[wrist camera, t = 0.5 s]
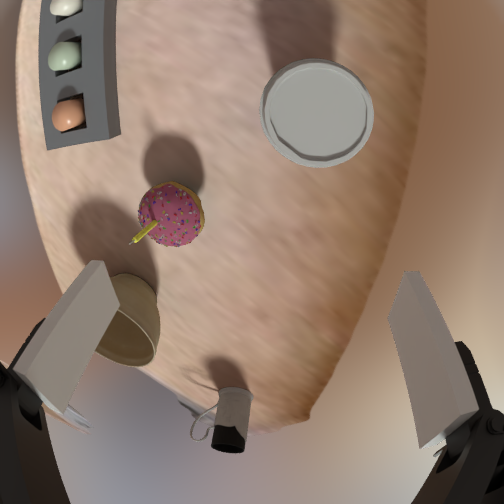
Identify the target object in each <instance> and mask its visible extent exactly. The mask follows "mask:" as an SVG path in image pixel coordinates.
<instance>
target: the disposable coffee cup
mask: <svg viewBox="0 0 504 504" xmlns="http://www.w3.org/2000/svg"><path fill="white" fill-rule="evenodd" d="M259 112H260V120H261V125H262V128H263V131H264V133H265V135H266V137H267V138H268V140H269V142H270V143H271V144H272V146H273V147H274V148H275V149H276V150H277V151H278V152H279V153H280V154H282V155H283V156H284V157H286V158H287V159H289V160H291V161H293V162H295V163H297V164H300V165H304V166H308V167H315V168H319V167H330V166H335V165H338V164H340V163H343V162H345V161H347V160H349V159H350V158H351V157H353V156H354V155H356V154H357V153H358V152H359V151H360V150H361V149H362V147H363V146H364V144H365V143H366V142H367V140H368V138H369V135H370V133H371V130H372V126H373V118H374V111H373V104H372V101H371V97H370V95H369V93H368V90H367V89H366V87H365V85H364V84H363V83H362V81H361V80H360V79H359V78H358V77H357V76H356V75H355V74H354V73H353V72H352V71H351V70H349V69H348V68H346V67H344V66H343V65H340V64H338V63H336V62H333V61H330V60H326V59H317V58H310V59H302V60H299V61H295V62H292V63H290V64H288V65H287V66H285V67H283V68H282V69H280V70H279V71H278V72H277V73H276V74H275V75H274V76H273V77H272V78H271V79H270V80H269V82H268V83H267V85H266V86H265V88H264V91H263V94H262V97H261V101H260V109H259Z"/></svg>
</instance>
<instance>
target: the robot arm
mask: <svg viewBox="0 0 504 504" xmlns="http://www.w3.org/2000/svg"><path fill="white" fill-rule="evenodd" d="M119 306H120V303H119V301H118V298H117V296H116V293H115V291H114V288H113V286H112V283H111V280H110V278H109V275H108V272H107V269H106V266H105V264H104V261H100V260H91V261H90V262H89V263H88V264H87V265H86V267H85V268H84V269H83V270H82V272H81V273H80V274H79V275H78V277H77V278H76V279H75V280H74V282H73V283H72V284H71V285H70V287H69V288H68V289H67V290H66V292H65V293H64V294H63V296H62V297H61V298H60V300H59V301H58V302H57V304H56V305H55V306H54V308H53V309H52V310H51V312H50V313H49V315H48V316H47V317H46V318H44V319H43V320H42V321H40V322H39V323H38V324H37V325H36V326H35V327H34V329H33V330H32V332H31V333H30V336H28V338H27V339H26V342H25V343H24V344H23V345H22V347H21V348H20V350H19V351H18V353H17V354H16V356H15V358H14V359H13V361H12V363H11V364H10V366H9V367H8V369H6V368H5V367H4V366H3V365H2V363H1V362H0V504H71V503H70V501H69V498H68V495H67V493H66V490H65V487H64V484H63V482H62V479H61V476H60V472H59V470H58V466H57V463H56V459H55V456H54V452H53V448H52V445H51V440H50V437H49V432H48V428H47V423H46V418H45V412H44V409H43V407H42V406H41V405H42V402H44V403H45V404H46V405H47V406H48V407H49V408H50V409H52V410H54V411H56V412H58V413H60V414H64V412H65V410H66V408H67V406H68V403H69V401H70V399H71V397H72V395H73V392H74V391H75V389H76V386H77V384H78V382H79V380H80V378H81V376H82V374H83V372H84V370H85V368H86V366H87V364H88V363H89V361H90V359H91V357H92V355H93V353H94V351H95V349H96V347H97V345H98V344H99V342H100V340H101V338H102V336H103V334H104V333H105V331H106V329H107V327H108V325H109V324H110V322H111V320H112V318H113V317H114V315H115V313H116V311H117V310H118V308H119ZM388 321H389V324H390V328H391V331H392V334H393V337H394V341H395V344H396V348H397V351H398V354H399V358H400V362H401V365H402V369H403V373H404V377H405V381H406V385H407V389H408V393H409V397H410V402H411V406H412V411H413V416H414V421H415V425H416V431H417V436H418V442H419V448H420V449H422V448H426V447H431V446H434V445H438V444H439V443H440V442H442V441H443V440H444V439H446V443H447V445H445V446H444V447H442V448H441V449H440V450H438V451H437V452H436V453H435V454H434V455H433V456H434V457H436V456H438V455H439V454H440V456H439V458H438V460H437V462H436V463H435V465H434V467H433V469H432V471H431V472H430V474H429V476H428V478H427V479H426V481H425V483H424V484H423V486H422V488H421V489H420V491H419V493H418V494H417V496H416V497H415V499H414V500H413V502H412V503H411V504H504V414H503V413H501V412H500V411H498V410H495V409H493V408H492V406H491V403H490V400H489V398H488V394H487V392H486V389H485V386H484V384H483V381H482V378H481V375H480V374H479V373H478V372H479V370H478V368H477V365H476V364H475V361H474V359H473V356H472V354H471V351H470V350H469V349H468V348H467V346H466V345H465V344H464V343H463V342H462V341H459V342H454V340H453V338H452V336H451V334H450V331H449V329H448V327H447V325H446V323H445V321H444V318H443V316H442V314H441V312H440V310H439V308H438V306H437V304H436V302H435V300H434V298H433V296H432V294H431V292H430V290H429V288H428V286H427V285H426V283H425V281H424V279H423V277H422V276H421V274H420V272H417V271H414V272H413V271H410V272H408V271H404V274H403V277H402V280H401V283H400V286H399V288H398V291H397V294H396V297H395V300H394V302H393V305H392V308H391V311H390V313H389V316H388Z"/></svg>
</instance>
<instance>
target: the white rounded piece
mask: <svg viewBox="0 0 504 504" xmlns="http://www.w3.org/2000/svg"><path fill="white" fill-rule="evenodd" d="M82 10H83V0H52V2H51V4H50V12H51V13H52V14H53V15H62V16H70V17H71V16H74V15H76V14H78V13H80V12H81V11H82Z"/></svg>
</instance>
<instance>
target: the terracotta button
mask: <svg viewBox="0 0 504 504" xmlns="http://www.w3.org/2000/svg"><path fill="white" fill-rule="evenodd" d="M85 121H86V116H85V106H84V100H83V99H81V98H76V99H71V100H67V101H63V102H59V103H58V104H57V105H56V106H55V107H54V109H53V112H52V122H53V125H54V127H55V128H56V129H57V130H59V131H65V130H68V129H70V128H73V127H76V126H79V125H81V124H83V123H84V122H85Z"/></svg>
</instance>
